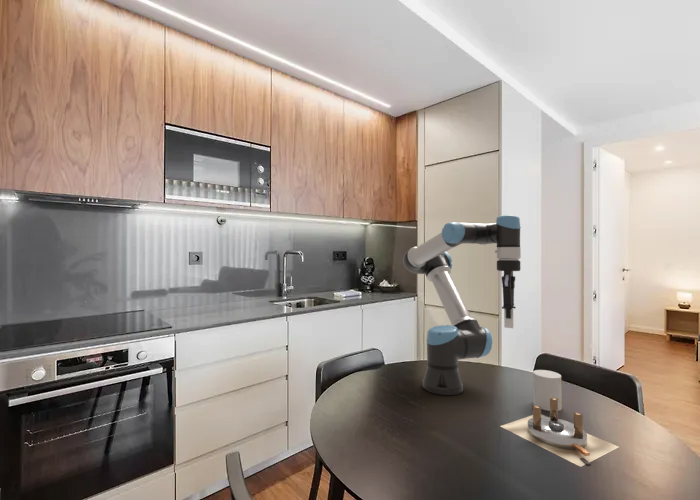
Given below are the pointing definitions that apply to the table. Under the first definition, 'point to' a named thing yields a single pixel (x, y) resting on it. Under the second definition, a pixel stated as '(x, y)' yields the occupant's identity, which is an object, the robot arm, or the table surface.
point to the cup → (546, 388)
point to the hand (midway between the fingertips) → (508, 327)
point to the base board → (593, 447)
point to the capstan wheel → (558, 429)
